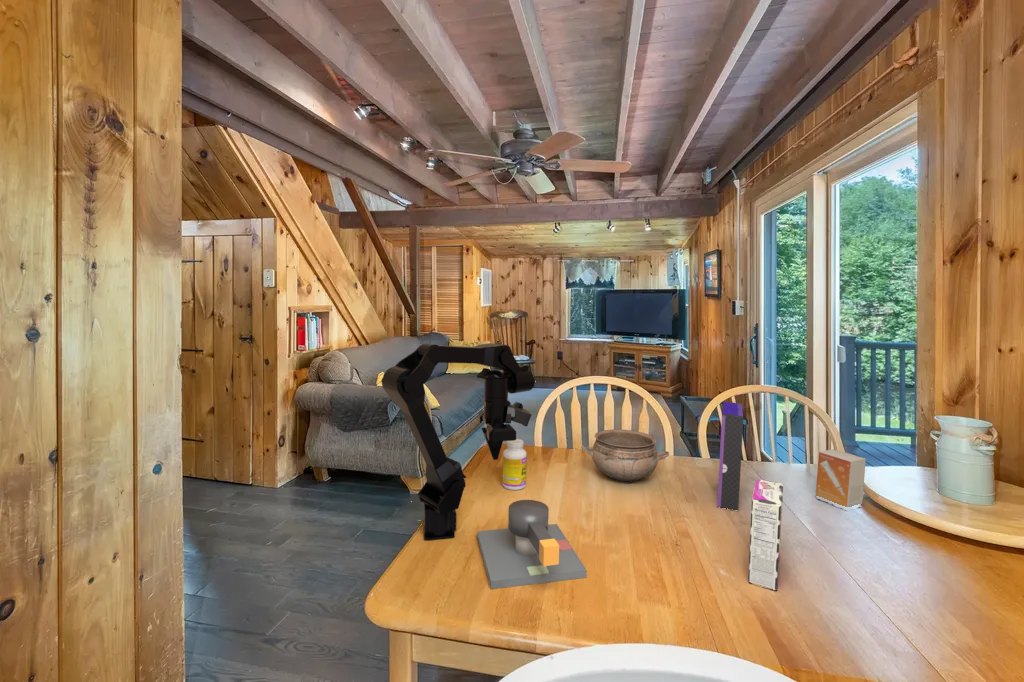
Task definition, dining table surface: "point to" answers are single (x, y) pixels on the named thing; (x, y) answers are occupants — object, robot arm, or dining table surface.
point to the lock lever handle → (534, 528)
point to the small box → (840, 477)
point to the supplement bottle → (514, 465)
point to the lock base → (525, 559)
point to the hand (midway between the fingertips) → (495, 459)
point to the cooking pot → (625, 454)
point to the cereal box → (730, 456)
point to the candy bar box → (765, 533)
